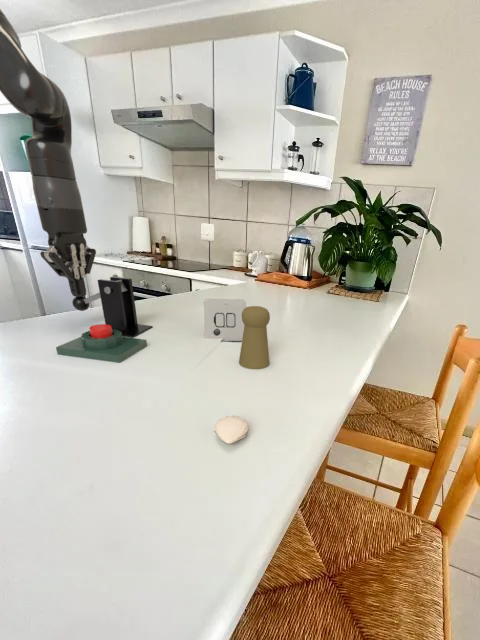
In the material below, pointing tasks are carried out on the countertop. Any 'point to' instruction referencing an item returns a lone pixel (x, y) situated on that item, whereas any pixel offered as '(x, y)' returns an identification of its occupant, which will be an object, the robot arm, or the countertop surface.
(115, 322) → the switch bracket
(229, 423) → the seashell
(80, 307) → the switch lever
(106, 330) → the push button
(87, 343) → the button block
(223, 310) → the electrical switch
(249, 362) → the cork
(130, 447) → the countertop surface
